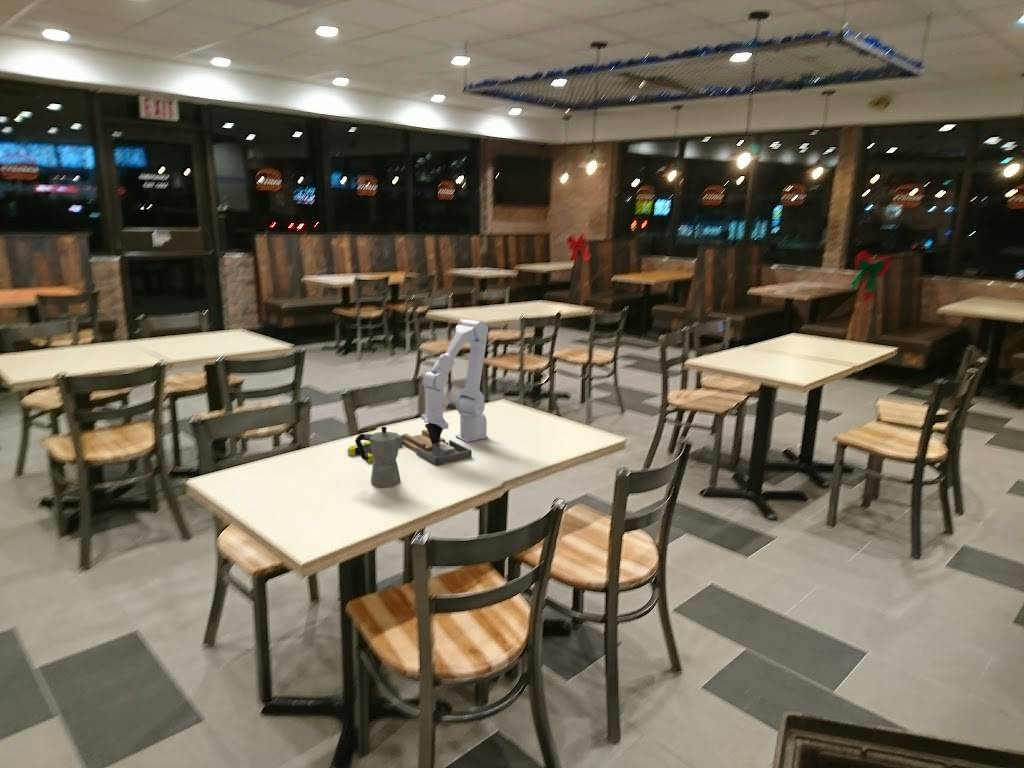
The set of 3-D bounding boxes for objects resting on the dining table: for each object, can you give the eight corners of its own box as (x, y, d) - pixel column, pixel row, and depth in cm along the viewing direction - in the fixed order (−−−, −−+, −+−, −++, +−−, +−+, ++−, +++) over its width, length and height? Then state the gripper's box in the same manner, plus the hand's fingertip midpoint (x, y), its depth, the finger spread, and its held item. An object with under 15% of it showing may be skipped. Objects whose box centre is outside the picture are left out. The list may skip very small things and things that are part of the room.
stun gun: (415, 445, 232) (391, 434, 242) (368, 457, 219) (344, 446, 229) (415, 452, 233) (391, 442, 243) (368, 465, 220) (344, 454, 230)
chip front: (448, 453, 230) (448, 444, 229) (454, 456, 227) (454, 448, 226) (438, 455, 228) (438, 447, 227) (444, 458, 225) (444, 450, 224)
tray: (450, 446, 238) (450, 440, 238) (471, 457, 228) (471, 450, 227) (416, 454, 230) (416, 447, 229) (436, 465, 220) (436, 458, 219)
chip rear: (441, 449, 233) (441, 441, 233) (447, 452, 230) (447, 444, 230) (431, 452, 231) (431, 443, 230) (437, 455, 228) (437, 446, 227)
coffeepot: (409, 477, 210) (408, 422, 205) (404, 488, 201) (403, 431, 196) (360, 476, 210) (358, 421, 205) (353, 488, 200) (351, 431, 196)
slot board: (428, 436, 248) (428, 429, 248) (448, 446, 237) (448, 439, 237) (399, 442, 241) (399, 434, 240) (418, 453, 230) (418, 445, 230)
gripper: (413, 403, 232) (414, 440, 236) (435, 413, 221) (436, 451, 225) (431, 400, 237) (431, 436, 240) (453, 409, 226) (453, 447, 229)
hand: (435, 443), depth 233 cm, fingers closed
